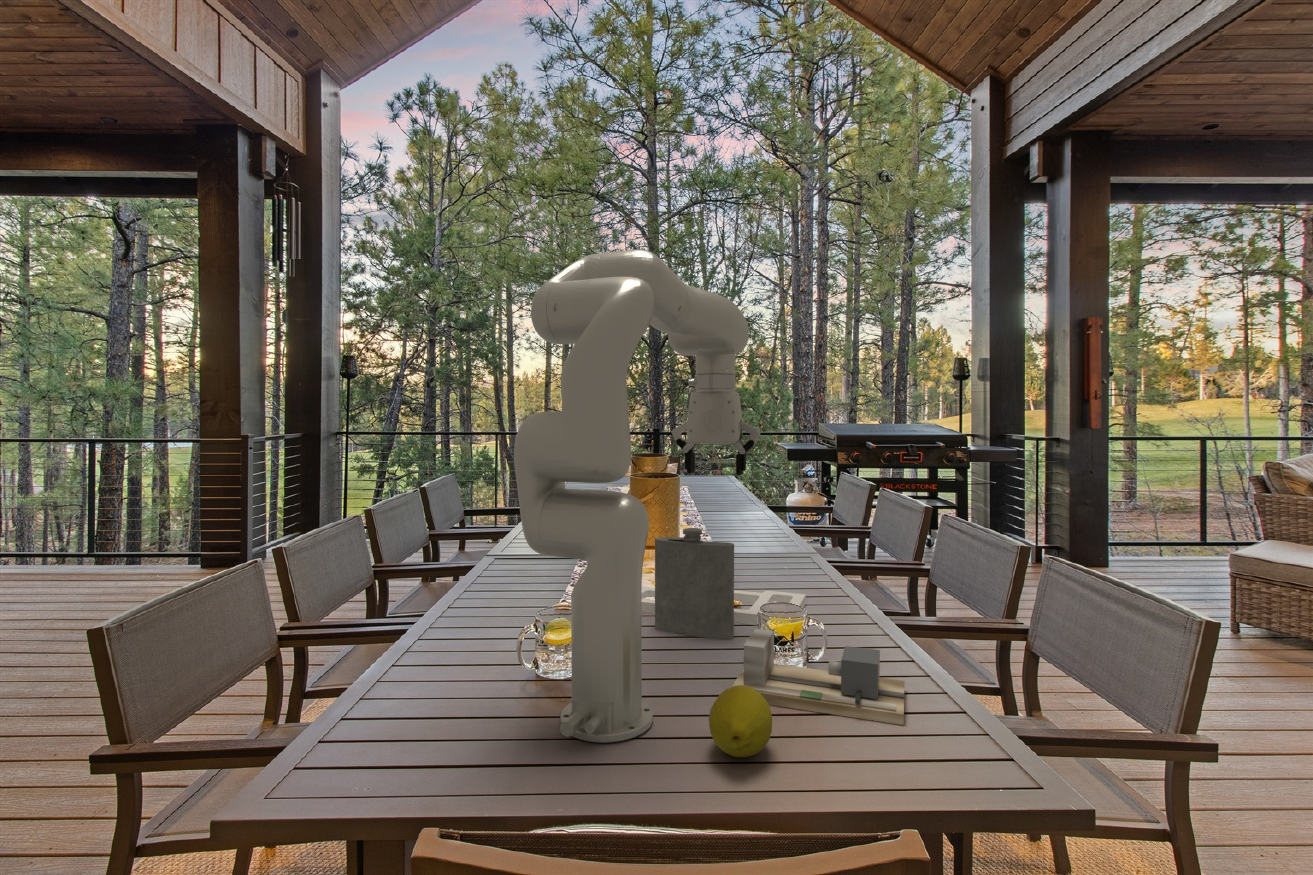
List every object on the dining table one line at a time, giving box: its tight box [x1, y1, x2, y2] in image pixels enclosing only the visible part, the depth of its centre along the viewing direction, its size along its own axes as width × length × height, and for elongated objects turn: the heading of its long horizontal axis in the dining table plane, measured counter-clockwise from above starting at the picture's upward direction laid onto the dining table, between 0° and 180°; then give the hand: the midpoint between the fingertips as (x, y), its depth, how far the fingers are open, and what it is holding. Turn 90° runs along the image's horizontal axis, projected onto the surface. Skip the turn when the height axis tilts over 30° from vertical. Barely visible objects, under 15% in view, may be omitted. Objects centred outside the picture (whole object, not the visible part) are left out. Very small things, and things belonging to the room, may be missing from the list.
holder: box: [641, 586, 807, 626], centre depth 148 cm, size 45×18×3 cm, turn 69°
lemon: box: [708, 685, 773, 758], centre depth 84 cm, size 11×8×8 cm
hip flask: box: [654, 527, 735, 641], centre depth 129 cm, size 16×4×20 cm, turn 65°
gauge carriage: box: [827, 645, 881, 704], centre depth 98 cm, size 9×7×5 cm
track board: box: [731, 628, 906, 726], centre depth 101 cm, size 12×24×8 cm, turn 69°
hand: (715, 473), depth 131 cm, fingers open, 9 cm apart
